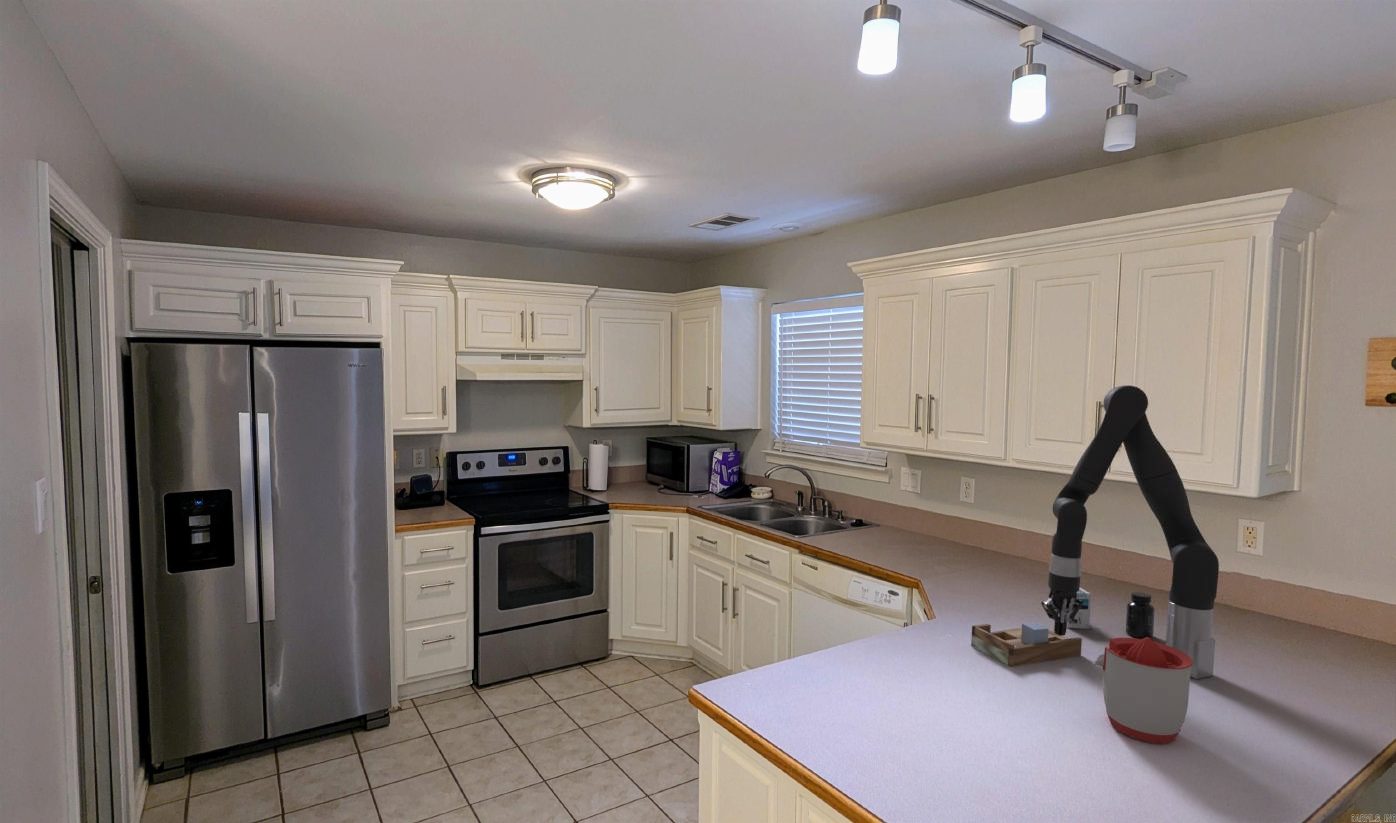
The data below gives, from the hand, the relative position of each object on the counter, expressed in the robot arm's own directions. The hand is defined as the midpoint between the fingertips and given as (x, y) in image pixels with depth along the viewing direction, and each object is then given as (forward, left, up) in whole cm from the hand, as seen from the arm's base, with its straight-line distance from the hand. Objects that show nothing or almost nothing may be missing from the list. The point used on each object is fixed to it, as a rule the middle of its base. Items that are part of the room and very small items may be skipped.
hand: (1060, 634), depth 188 cm
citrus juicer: (-37, +19, -5) cm, 42 cm away
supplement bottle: (+1, -32, -5) cm, 32 cm away
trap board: (+3, +9, -4) cm, 10 cm away
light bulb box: (+15, -21, -5) cm, 26 cm away
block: (-1, +10, -1) cm, 10 cm away
